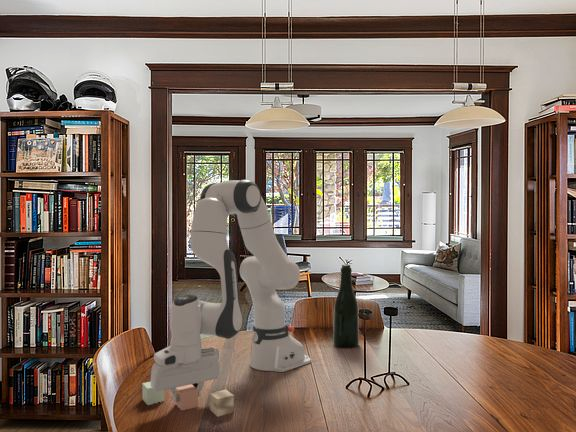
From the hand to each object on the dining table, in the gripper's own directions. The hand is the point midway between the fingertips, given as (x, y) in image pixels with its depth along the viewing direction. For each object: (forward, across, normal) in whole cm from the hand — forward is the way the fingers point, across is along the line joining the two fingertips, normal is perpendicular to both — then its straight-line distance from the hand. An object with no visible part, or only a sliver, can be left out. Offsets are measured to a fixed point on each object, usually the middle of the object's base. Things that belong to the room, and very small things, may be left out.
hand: (186, 399), depth 144 cm
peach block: (+2, 0, 0) cm, 2 cm away
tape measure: (+2, -5, -11) cm, 12 cm away
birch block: (+2, -7, +9) cm, 12 cm away
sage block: (+2, +7, -9) cm, 12 cm away
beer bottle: (+2, -76, -20) cm, 79 cm away
